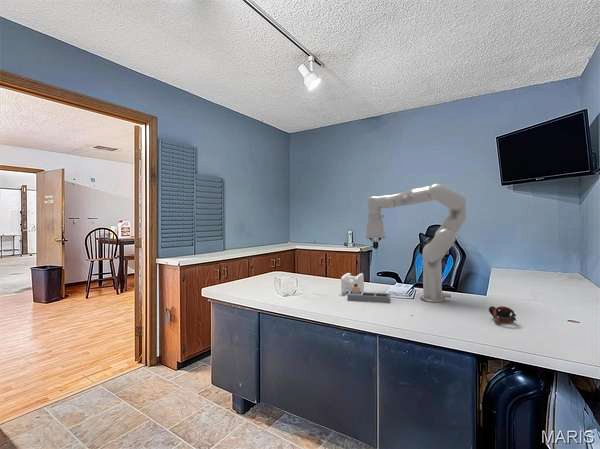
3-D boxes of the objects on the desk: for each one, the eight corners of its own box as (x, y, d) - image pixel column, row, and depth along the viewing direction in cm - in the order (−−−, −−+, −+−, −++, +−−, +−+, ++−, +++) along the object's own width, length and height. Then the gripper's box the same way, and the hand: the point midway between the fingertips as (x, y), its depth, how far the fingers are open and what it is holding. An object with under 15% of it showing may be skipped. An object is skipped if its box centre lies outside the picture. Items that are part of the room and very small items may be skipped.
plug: (360, 298, 176) (359, 283, 176) (359, 300, 172) (358, 284, 172) (352, 297, 177) (352, 282, 177) (351, 299, 173) (351, 284, 173)
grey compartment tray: (389, 301, 173) (389, 292, 173) (389, 305, 165) (389, 296, 165) (349, 299, 180) (349, 290, 180) (347, 303, 172) (347, 294, 172)
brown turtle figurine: (521, 324, 136) (521, 311, 132) (507, 337, 133) (507, 323, 129) (494, 310, 146) (493, 297, 142) (481, 322, 143) (479, 309, 140)
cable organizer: (357, 297, 184) (357, 277, 184) (340, 295, 189) (340, 276, 188) (364, 291, 198) (363, 272, 197) (347, 289, 202) (347, 271, 202)
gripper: (387, 216, 185) (389, 247, 185) (362, 217, 189) (363, 248, 190) (387, 217, 178) (389, 249, 178) (361, 218, 182) (362, 249, 182)
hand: (375, 248), depth 184 cm, fingers closed
